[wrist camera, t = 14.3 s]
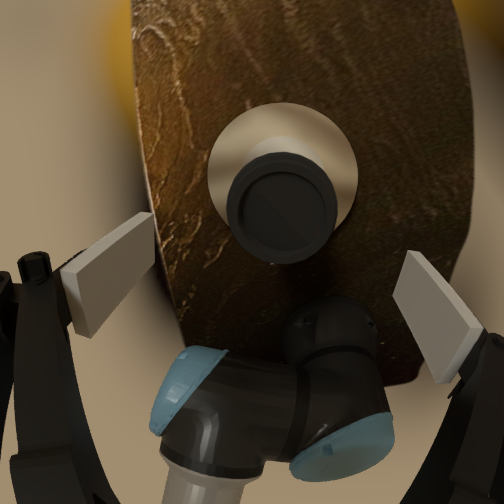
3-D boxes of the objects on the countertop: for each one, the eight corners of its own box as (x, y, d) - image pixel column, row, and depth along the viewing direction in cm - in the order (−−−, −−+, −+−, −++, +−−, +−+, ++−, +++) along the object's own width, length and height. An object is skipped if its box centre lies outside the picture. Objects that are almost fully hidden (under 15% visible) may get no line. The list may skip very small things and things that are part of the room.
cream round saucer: (339, 253, 38) (341, 258, 37) (206, 234, 39) (203, 239, 37) (365, 118, 31) (369, 118, 29) (217, 97, 32) (214, 96, 30)
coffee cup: (280, 226, 36) (277, 291, 22) (232, 177, 34) (196, 212, 20) (332, 182, 33) (365, 221, 19) (284, 128, 31) (285, 127, 17)
